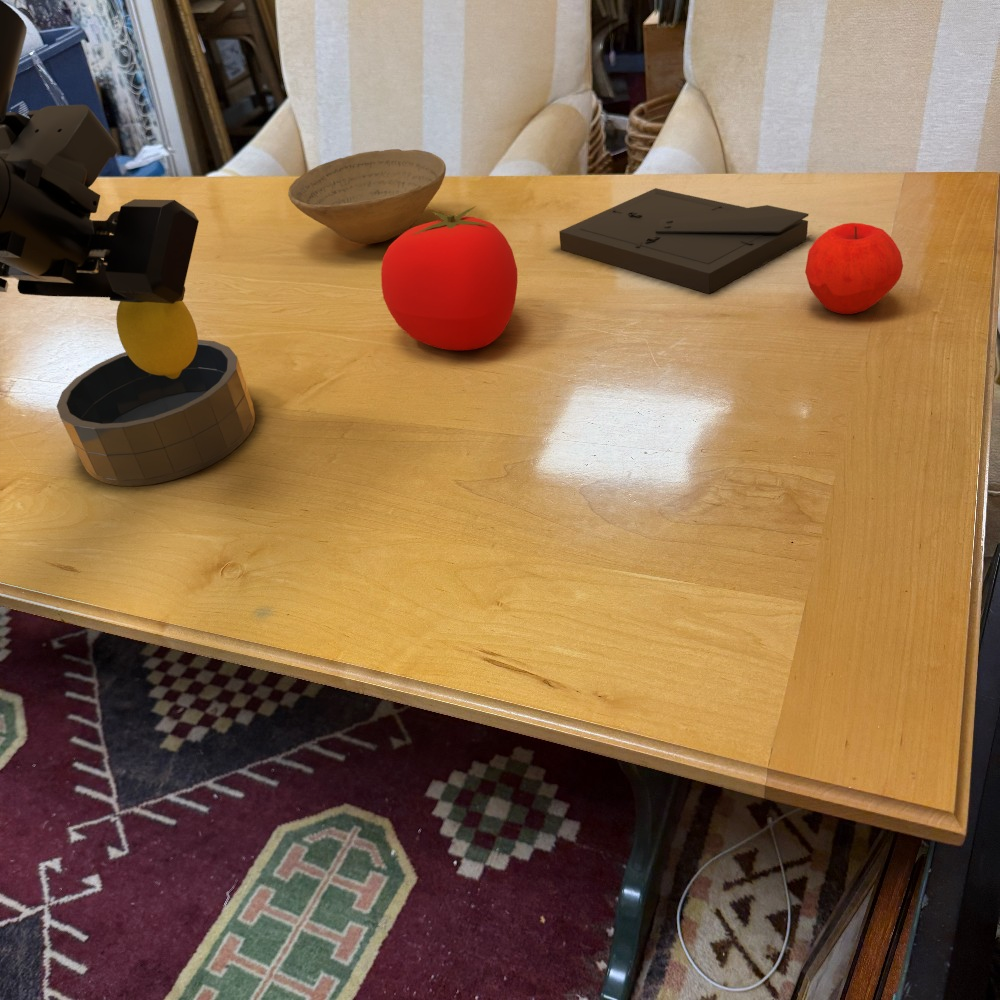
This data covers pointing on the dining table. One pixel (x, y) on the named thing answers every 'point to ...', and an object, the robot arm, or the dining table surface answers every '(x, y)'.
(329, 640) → the dining table surface
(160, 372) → the lemon
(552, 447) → the dining table surface
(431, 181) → the bowl
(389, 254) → the tomato
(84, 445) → the pot
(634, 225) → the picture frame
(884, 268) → the apple
